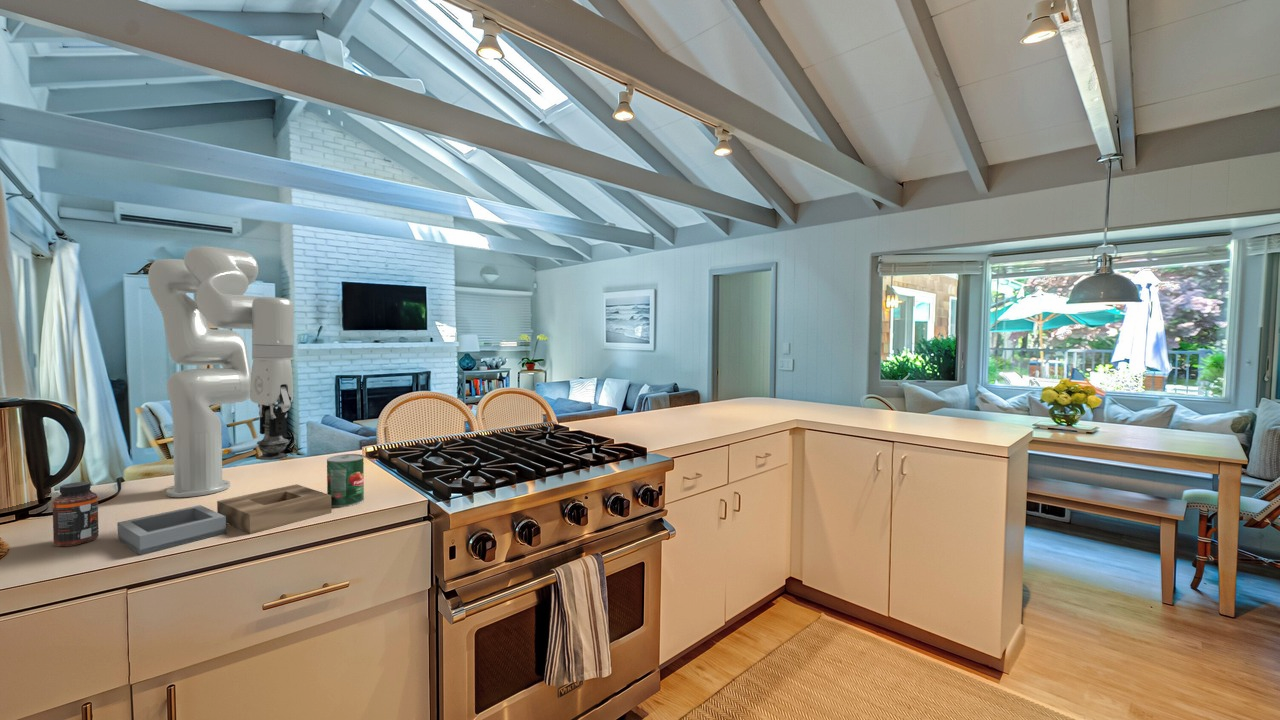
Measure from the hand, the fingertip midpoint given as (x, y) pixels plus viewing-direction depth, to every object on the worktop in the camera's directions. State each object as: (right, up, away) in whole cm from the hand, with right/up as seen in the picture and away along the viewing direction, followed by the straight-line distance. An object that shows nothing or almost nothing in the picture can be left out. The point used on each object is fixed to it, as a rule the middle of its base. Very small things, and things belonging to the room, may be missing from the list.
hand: (273, 433), depth 116 cm
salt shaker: (0, -6, 0) cm, 6 cm away
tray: (-11, -19, -12) cm, 25 cm away
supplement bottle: (-27, -19, -15) cm, 37 cm away
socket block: (0, -18, 0) cm, 18 cm away
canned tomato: (+10, -18, +11) cm, 24 cm away
